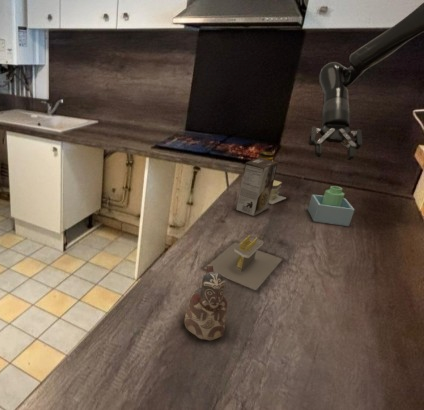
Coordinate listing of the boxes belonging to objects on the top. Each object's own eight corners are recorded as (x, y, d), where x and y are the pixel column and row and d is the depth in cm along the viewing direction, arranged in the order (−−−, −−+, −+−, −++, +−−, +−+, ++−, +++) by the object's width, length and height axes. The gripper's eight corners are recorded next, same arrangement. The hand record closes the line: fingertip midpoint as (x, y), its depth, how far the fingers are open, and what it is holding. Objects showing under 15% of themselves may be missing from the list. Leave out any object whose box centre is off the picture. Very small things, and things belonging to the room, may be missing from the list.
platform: (203, 268, 85) (208, 244, 82) (235, 242, 96) (239, 220, 94) (255, 290, 77) (262, 264, 74) (282, 258, 89) (289, 235, 86)
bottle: (334, 214, 113) (343, 186, 109) (338, 220, 109) (348, 191, 105) (317, 211, 114) (325, 184, 111) (320, 218, 110) (329, 189, 106)
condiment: (272, 185, 138) (279, 155, 133) (249, 184, 138) (255, 154, 134) (265, 179, 144) (271, 150, 140) (243, 178, 145) (249, 149, 140)
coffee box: (249, 203, 122) (258, 157, 115) (267, 209, 117) (279, 161, 111) (235, 209, 116) (244, 162, 110) (254, 216, 112) (265, 167, 105)
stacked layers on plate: (262, 190, 133) (265, 176, 131) (286, 197, 126) (290, 183, 124) (247, 196, 128) (250, 181, 125) (272, 204, 121) (276, 189, 119)
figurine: (185, 336, 64) (194, 281, 59) (182, 310, 71) (190, 258, 66) (227, 342, 63) (239, 286, 58) (220, 315, 69) (231, 263, 65)
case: (340, 214, 114) (345, 198, 112) (348, 226, 106) (354, 209, 104) (307, 209, 117) (312, 194, 115) (313, 221, 109) (318, 204, 107)
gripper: (314, 106, 118) (313, 148, 112) (365, 109, 113) (366, 153, 108) (307, 120, 124) (305, 160, 119) (355, 123, 120) (355, 165, 115)
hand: (334, 157), depth 114 cm, fingers open, 8 cm apart
